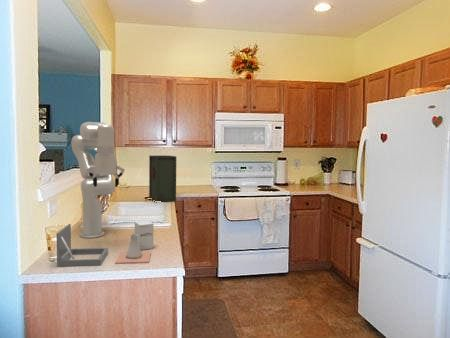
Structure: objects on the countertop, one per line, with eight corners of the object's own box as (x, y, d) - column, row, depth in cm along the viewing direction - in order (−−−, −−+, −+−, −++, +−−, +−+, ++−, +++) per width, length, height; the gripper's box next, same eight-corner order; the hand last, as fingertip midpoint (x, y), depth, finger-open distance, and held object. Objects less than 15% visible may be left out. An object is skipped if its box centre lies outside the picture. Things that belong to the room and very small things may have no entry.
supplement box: (138, 250, 164) (139, 224, 163) (134, 246, 170) (134, 221, 169) (153, 248, 168) (153, 223, 167) (148, 244, 174) (148, 220, 173)
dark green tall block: (176, 201, 302) (176, 156, 299) (155, 203, 293) (156, 156, 290) (168, 198, 318) (168, 155, 315) (149, 199, 309) (149, 155, 306)
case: (69, 253, 157) (68, 223, 156) (108, 252, 160) (107, 223, 159) (57, 266, 141) (56, 233, 140) (100, 265, 144) (100, 232, 143)
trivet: (120, 253, 159) (120, 252, 159) (151, 252, 161) (151, 251, 161) (115, 263, 146) (115, 262, 146) (148, 262, 148) (148, 261, 148)
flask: (144, 254, 157) (144, 233, 156) (138, 259, 149) (138, 237, 149) (130, 253, 158) (130, 232, 157) (122, 258, 151) (122, 236, 150)
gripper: (84, 150, 159) (85, 187, 160) (123, 151, 161) (123, 187, 162) (88, 150, 166) (89, 185, 167) (125, 151, 169) (125, 185, 170)
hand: (106, 186), depth 165 cm, fingers open, 9 cm apart
